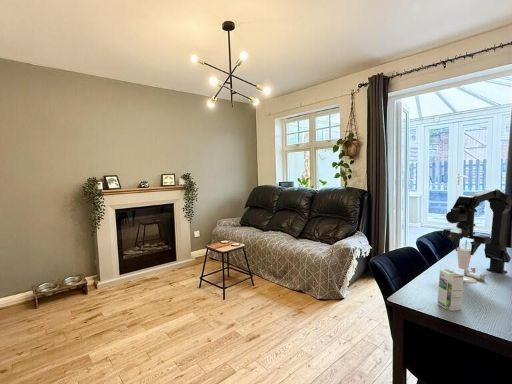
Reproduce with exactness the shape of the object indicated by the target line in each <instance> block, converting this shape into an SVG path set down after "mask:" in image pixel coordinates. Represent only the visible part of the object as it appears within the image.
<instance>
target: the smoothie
mask: <svg viewBox="0 0 512 384" xmlns="http://www.w3.org/2000/svg"><path fill="white" fill-rule="evenodd" d="M456 250H457V251H456ZM456 250H455V251H456V254H457V263H458V265H457V266H458V268H459V269H460V270H464V269H465V270H467V269H468V270H469V267H470V262H471V259H472V258H471V257H472V255H471V248H469V247H468V239H465V246H459V247H457V249H456Z"/></svg>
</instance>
